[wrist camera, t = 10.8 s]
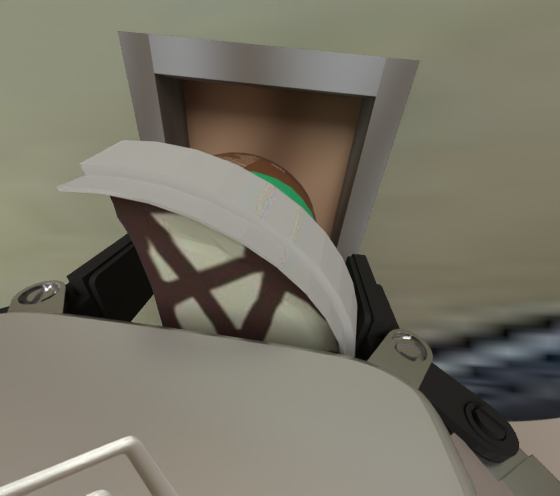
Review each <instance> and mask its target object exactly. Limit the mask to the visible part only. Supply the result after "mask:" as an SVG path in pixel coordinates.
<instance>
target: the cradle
mask: <svg viewBox="0 0 560 496" xmlns="http://www.w3.org/2000/svg"><path fill="white" fill-rule="evenodd" d="M118 35H119V40H120V45H121V49H122V54H123V59H124V64H125V69H126V73H127V78H128V83H129V88H130V93H131V98H132V102H133V107H134V112H135V117H136V122H137V126H138V131H139V136H140V141H155V142H161V143H166V144H171V145H176V146H181V147H186V148H191V149H196V150H199V151H202V152H204V153H207V154H210V155H216V154H222V153H228V152H235V153H248V154H253V155H257V156H260V157H263V158H266V159H268V160H271V161H272V162H274V163H276V164H278V165H280V166H281V167H283V168H284V169H285V170H287V171H288V172H289V173H291V174H292V175H293V176H294V177H295V178H296V179H297V181H298V182H299V183H300V184H301V185H302V187H303V188H304V190H305V191H306V193H307V194H308V196H309V198H310V201H311V203H312V205H313V209H314V213H315V217H316V221H317V224H318V225H319V226H320V227H321V228H322V229H323V230H324V231H325V232H326V234H327V235H328V237H329V238H330V240H331V241H332V243H333V244H334V246H335V247H336V249H337V250H338V252H339V253H340V255H341V256H342V258H343V260H344V262H346V259H347V257H348V256H351V255H352V254H358V251H359V248H360V245H361V242H362V239H363V235H364V232H365V229H366V226H367V223H368V220H369V217H370V214H371V211H372V207H373V204H374V201H375V198H376V195H377V192H378V189H379V186H380V182H381V179H382V176H383V173H384V170H385V167H386V164H387V161H388V158H389V154H390V151H391V148H392V145H393V142H394V139H395V136H396V133H397V130H398V126H399V123H400V120H401V117H402V114H403V111H404V108H405V105H406V102H407V98H408V95H409V92H410V89H411V86H412V83H413V80H414V77H415V74H416V70H417V67H418V64H419V61H418V60H408V59H398V58H387V57H377V56H367V55H357V54H347V53H337V52H326V51H316V50H306V49H296V48H286V47H276V46H265V45H255V44H245V43H235V42H225V41H215V40H204V39H194V38H184V37H174V36H164V35H153V34H143V33H133V32H123V31H118Z"/></svg>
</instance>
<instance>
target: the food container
mask: <svg viewBox="0 0 560 496" xmlns="http://www.w3.org/2000/svg"><path fill="white" fill-rule="evenodd" d="M80 166H81V168H82V170H83V172H84V173H85V176H83V177H80V178H77V179H75V180H72V181H69V182H67V183H64V184H62V185H59V186H56V187H57V189H58V190H59V191H68V192H83V193H98V194H105V195H110V197H111V200H112V202H113V204H114V207H115V211H116V214H117V217H118V219H119V220H120V222H121V223H122V224H123V226H124V227H125V229H126V231H127V233H128V234H129V236H130V238H131V240H132V242H133V244H134V246H135V248H136V250H137V253H138V255H139V258H140V260H141V262H142V265H143V267H144V270H145V272H146V274H147V277H148V279H149V282H150V284H151V287H152V290H153V293H154V296H155V300H156V303H157V307H158V311H159V314H160V318H161V321H162V325H163V327H169V328H176V329H183V330H190V331H197V332H204V333H210V334H217V335H224V336H231V337H237V338H244V339H251V340H257V341H264V342H270V343H277V344H283V345H290V346H296V347H302V348H308V349H314V350H320V351H326V352H331V353H336V354H341V355H346V356H350V357H354V358H355V342H356V326H357V301H356V296H355V291H354V285H353V281H352V279H351V277H350V274H349V272H348V269H347V267H346V265H345V262H344V260H343V258H342V256H341V255H340V253H339V252H338V250H337V249H336V247H335V246H334V244H333V243H332V241H331V240H330V238H329V237H328V235H327V234H326V232H325V231H324V230H323V229H322V228H321V227H320V226H319V225H318V224H317V221H316V217H315V213H314V209H313V205H312V203H311V201H310V198H309V196H308V194H307V193H306V191H305V190H304V188H303V187H302V185H301V184H300V183H299V182H298V181H297V179H296V178H295V177H294V176H293V175H292V174H291V173H289V172H288V171H287V170H285V169H284V168H283V167H281V166H280V165H278V164H276V163H274V162H272V161H271V160H268V159H266V158H263V157H260V156H257V155H253V154H248V153H235V152H228V153H222V154H216V155H210V154H207V153H204V152H202V151H199V150H196V149H191V148H186V147H181V146H176V145H171V144H166V143H161V142H155V141H128V140H122V141H120V142H118V143H116V144H115V145H113V146H111V147H109V148H107V149H106V150H104V151H102V152H100V153H98V154H96V155H95V156H93V157H91V158H89V159H87V160H86V161H84V162H82V163H80Z"/></svg>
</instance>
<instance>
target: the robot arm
mask: <svg viewBox="0 0 560 496" xmlns="http://www.w3.org/2000/svg"><path fill="white" fill-rule="evenodd" d="M345 265H346V267H347V269H348V272H349V274H350V277H351V279H352V281H353V285H354V291H355V296H356V301H357V326H356V342H355V358H354V357H350V356H346V355H341V354H336V353H331V352H326V351H320V350H314V349H308V348H302V347H296V346H290V345H283V344H277V343H270V342H264V341H257V340H251V339H244V338H237V337H231V336H224V335H217V334H210V333H204V332H197V331H190V330H183V329H176V328H169V327H162V326H155V325H148V324H141V323H134V322H131V321H132V320H133V318H134V317H135V316H136V315H137V314H138V312H139V311H140V310H141V309H142V307H143V306H144V305H145V304H146V303H147V301H148V300H149V299H150V298H151V297H152V295H153V294H154V293H153V290H152V287H151V284H150V282H149V279H148V277H147V274H146V272H145V270H144V267H143V265H142V262H141V260H140V258H139V255H138V253H137V250H136V248H135V246H134V244H133V242H132V240H131V238H130V236H129V234H126V235H125V236H123V237H122V238H121V239H119V240H118V241H116V242H115V243H113V244H112V245H111V246H109V247H108V248H106V249H105V250H103V251H102V252H101V253H99V254H98V255H96V256H95V257H93V258H92V259H91V260H89V261H88V262H86V263H85V264H83V265H82V266H81V267H79V268H78V269H76V270H75V271H73V272H72V273H71V274H69V275H68V276H67V278H68V280H69V283H68V284H66V285H65V284H64V283H63V282H61V281H57V280H56V281H44V282H40V283H37V284H34V285H31V286H29V287H26V288H25V289H23V290H21V291H20V292H18V293H17V294H16V295H15V296H14V297H13V299H12V301H11V303H10V306H8V307H5V308H1V309H0V496H560V481H559V480H557V478H555V476H554V475H553V474H551V472H550V471H549V470H548V469H546V467H545V466H544V465H542V464H541V463H540V462H539V461H538V460H537V459H536V458H535V457H534V456H533V455H531V456H529V457H528V456H527V455H526V454H525V453H524V452H523V451H522V450H521V449H520V448H519V441H518V438H517V436H516V433H515V432H514V430H513V428H512V427H511V425H510V424H509V423H508V422H507V420H506V419H505V418H504V417H503V416H502V415H501V414H500V413H499V412H498V411H496V410H495V409H494V408H493V407H491V406H490V405H489V404H487V403H486V402H485V401H483V400H482V399H481V398H479V397H478V396H477V395H475V394H474V393H472V392H471V391H470V390H468V389H467V388H466V387H464V386H463V385H462V384H460V383H459V382H458V381H456V380H455V379H453V378H452V377H451V376H449V375H448V374H447V373H445V372H444V371H443V370H441V369H440V368H439V367H437V366H436V365H434V364H433V363H432V358H433V356H432V352H431V349H430V348H429V346H428V345H427V344H426V342H425V341H424V340H423V339H421V338H420V337H419V336H417V335H416V334H414V333H412V332H410V331H407V330H404V329H399V326H398V324H397V321H396V319H395V317H394V314H393V312H392V309H391V307H390V305H389V302H388V300H387V298H386V295H385V293H384V290H383V288H382V286H381V285H379V284H376V281H375V279H374V276H373V273H372V271H371V268H370V266H369V263H368V261H367V258H366V256H365V255H359V254H352V255H351V256H348V257H347V259H346V262H345Z"/></svg>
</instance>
